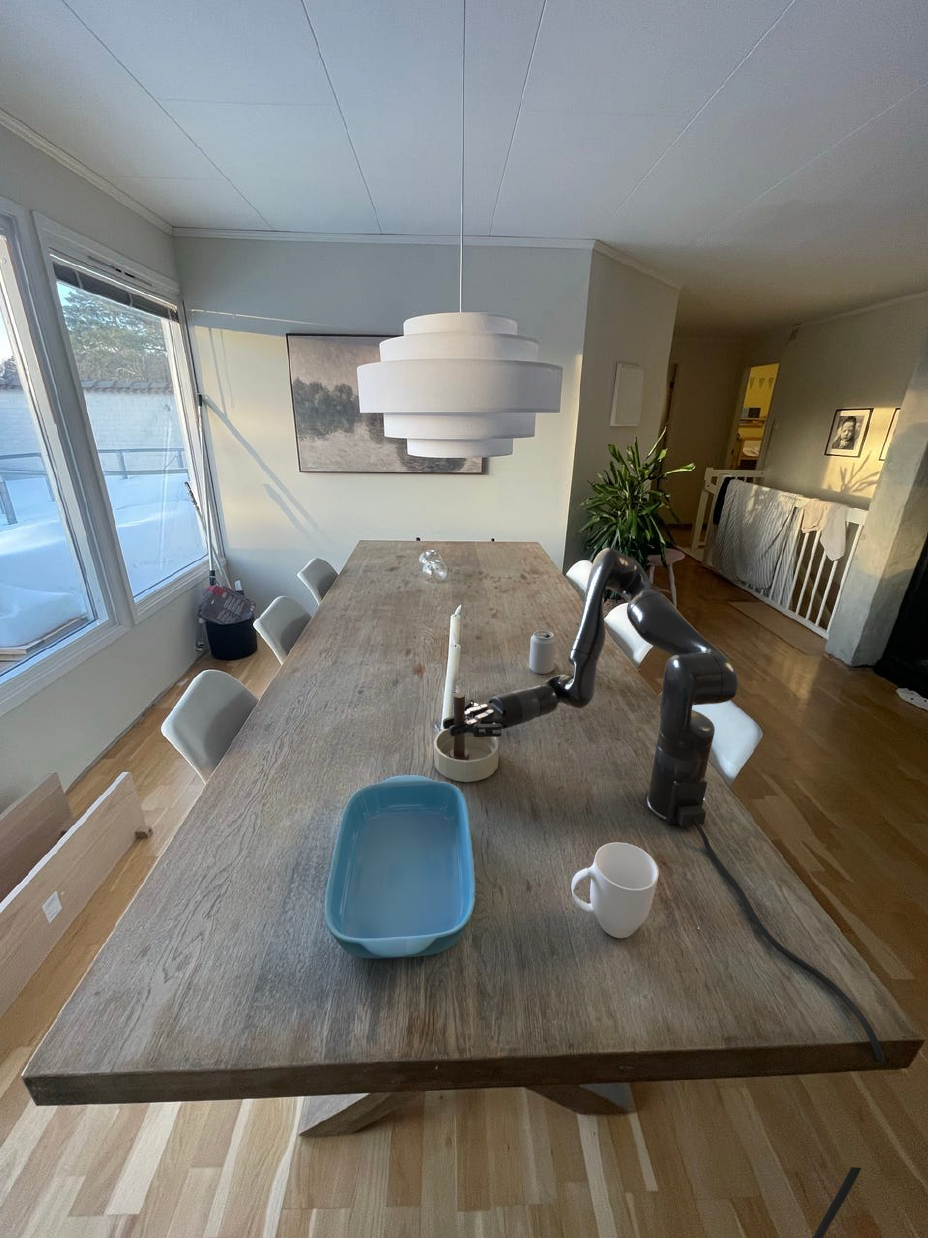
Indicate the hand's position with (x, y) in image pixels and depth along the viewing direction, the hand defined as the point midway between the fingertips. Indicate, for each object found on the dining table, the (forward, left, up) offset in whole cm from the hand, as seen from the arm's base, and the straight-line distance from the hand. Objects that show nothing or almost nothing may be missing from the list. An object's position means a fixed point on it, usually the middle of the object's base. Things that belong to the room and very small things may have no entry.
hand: (447, 728), depth 109 cm
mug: (-40, -19, -11) cm, 46 cm away
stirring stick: (+1, -3, -9) cm, 9 cm away
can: (+44, -34, -11) cm, 57 cm away
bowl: (+2, -4, -10) cm, 12 cm away
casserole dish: (-27, +11, -11) cm, 31 cm away
